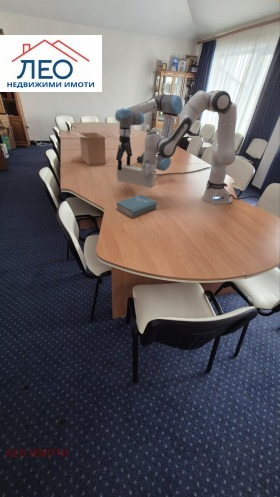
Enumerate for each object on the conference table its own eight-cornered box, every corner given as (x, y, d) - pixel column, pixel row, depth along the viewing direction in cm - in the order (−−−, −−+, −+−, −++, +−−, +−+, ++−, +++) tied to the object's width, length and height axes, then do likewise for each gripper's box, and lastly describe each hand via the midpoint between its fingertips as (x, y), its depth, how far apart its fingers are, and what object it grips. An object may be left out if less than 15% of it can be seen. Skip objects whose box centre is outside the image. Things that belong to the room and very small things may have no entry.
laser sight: (156, 165, 238) (157, 155, 232) (135, 163, 241) (136, 153, 235) (157, 163, 245) (158, 153, 240) (137, 160, 248) (138, 151, 242)
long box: (117, 180, 166) (117, 166, 160) (121, 178, 171) (121, 164, 165) (151, 188, 158) (152, 173, 152) (154, 185, 163) (156, 170, 156)
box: (116, 165, 229) (116, 136, 213) (83, 168, 214) (80, 137, 198) (102, 154, 259) (101, 128, 243) (71, 156, 244) (68, 129, 228)
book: (140, 200, 162) (140, 194, 160) (156, 208, 154) (157, 202, 151) (116, 209, 149) (116, 202, 146) (132, 218, 140) (132, 211, 137)
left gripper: (121, 139, 139) (120, 173, 151) (137, 134, 157) (136, 164, 170) (110, 137, 141) (111, 171, 153) (128, 132, 160) (127, 163, 172)
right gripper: (148, 162, 141) (146, 183, 150) (159, 156, 157) (157, 175, 165) (139, 161, 143) (138, 181, 152) (151, 154, 159) (149, 173, 167)
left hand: (124, 167), depth 162 cm, fingers open, 13 cm apart
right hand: (148, 178), depth 158 cm, fingers closed on long box, 6 cm apart
